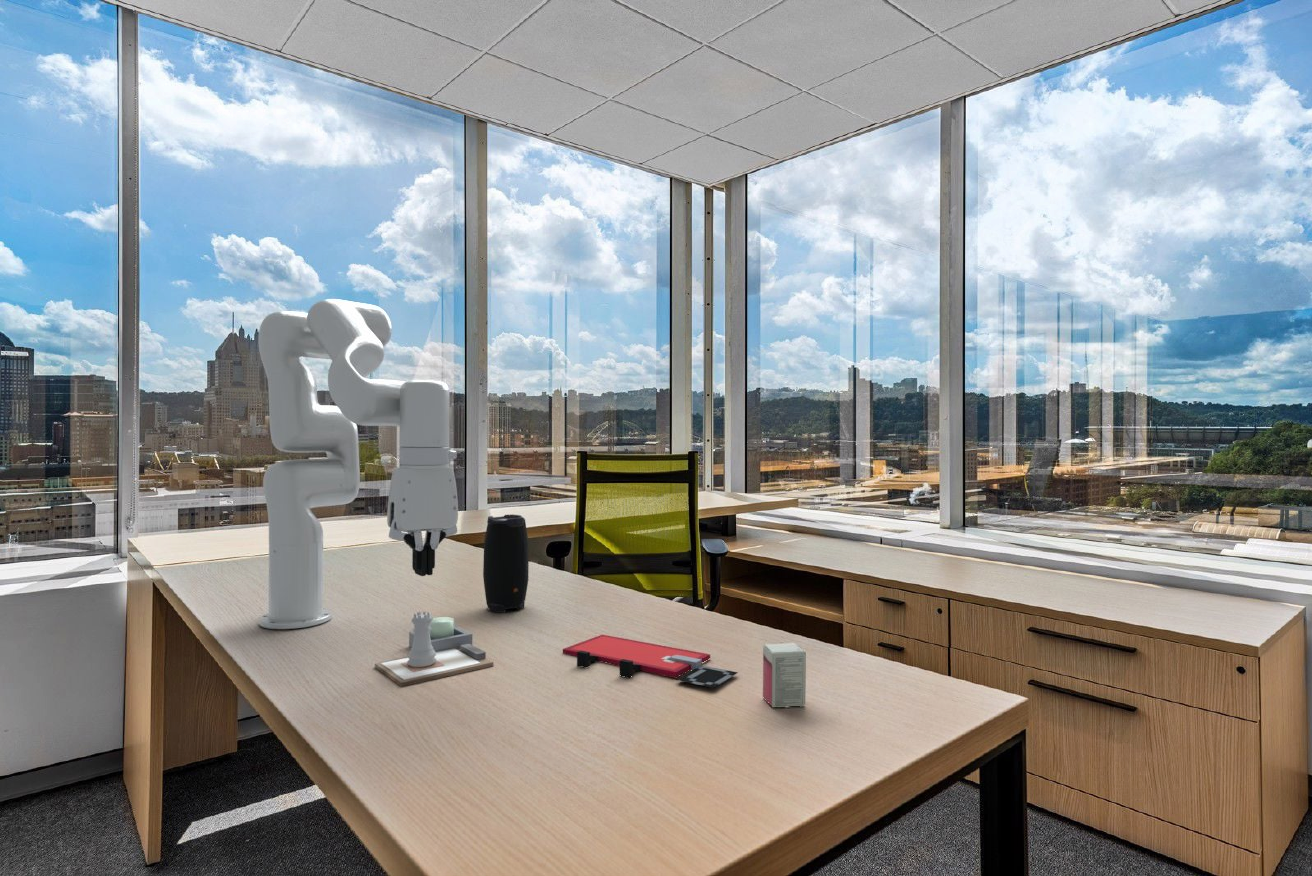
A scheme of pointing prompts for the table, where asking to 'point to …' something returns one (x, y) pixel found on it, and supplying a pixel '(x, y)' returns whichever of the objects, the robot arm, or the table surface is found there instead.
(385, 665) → the clipboard
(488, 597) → the portable speaker
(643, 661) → the red board with handle
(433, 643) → the button housing
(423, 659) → the rook chess piece
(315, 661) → the table surface
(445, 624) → the button
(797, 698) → the small box
